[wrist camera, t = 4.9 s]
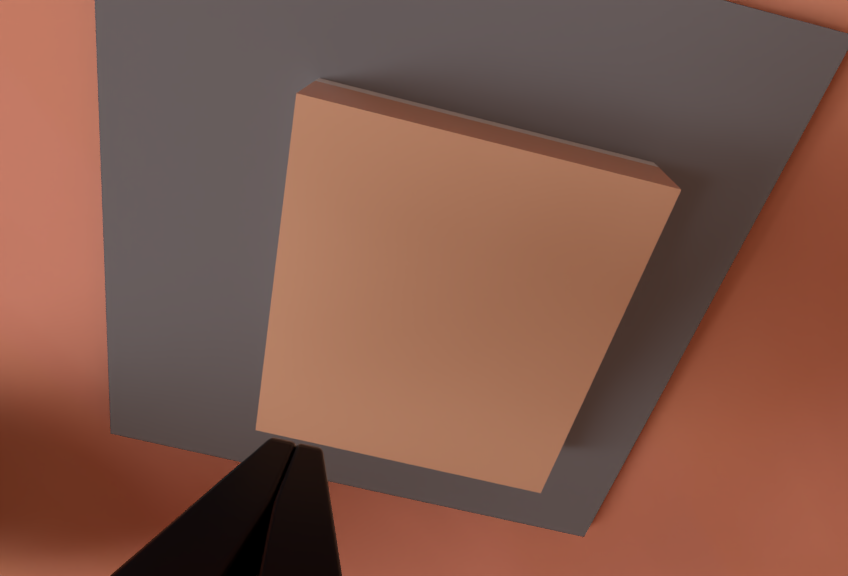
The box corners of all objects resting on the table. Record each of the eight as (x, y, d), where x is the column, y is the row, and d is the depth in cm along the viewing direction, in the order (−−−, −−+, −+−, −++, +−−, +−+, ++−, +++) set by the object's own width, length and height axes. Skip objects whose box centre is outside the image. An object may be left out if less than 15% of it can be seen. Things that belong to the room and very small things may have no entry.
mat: (581, 524, 20) (584, 536, 20) (118, 423, 19) (110, 433, 19) (841, 33, 13) (855, 35, 12) (102, -165, 12) (88, -170, 11)
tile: (276, 384, 18) (533, 442, 18) (255, 429, 16) (540, 493, 16) (319, 77, 13) (653, 162, 14) (295, 93, 12) (681, 189, 12)
